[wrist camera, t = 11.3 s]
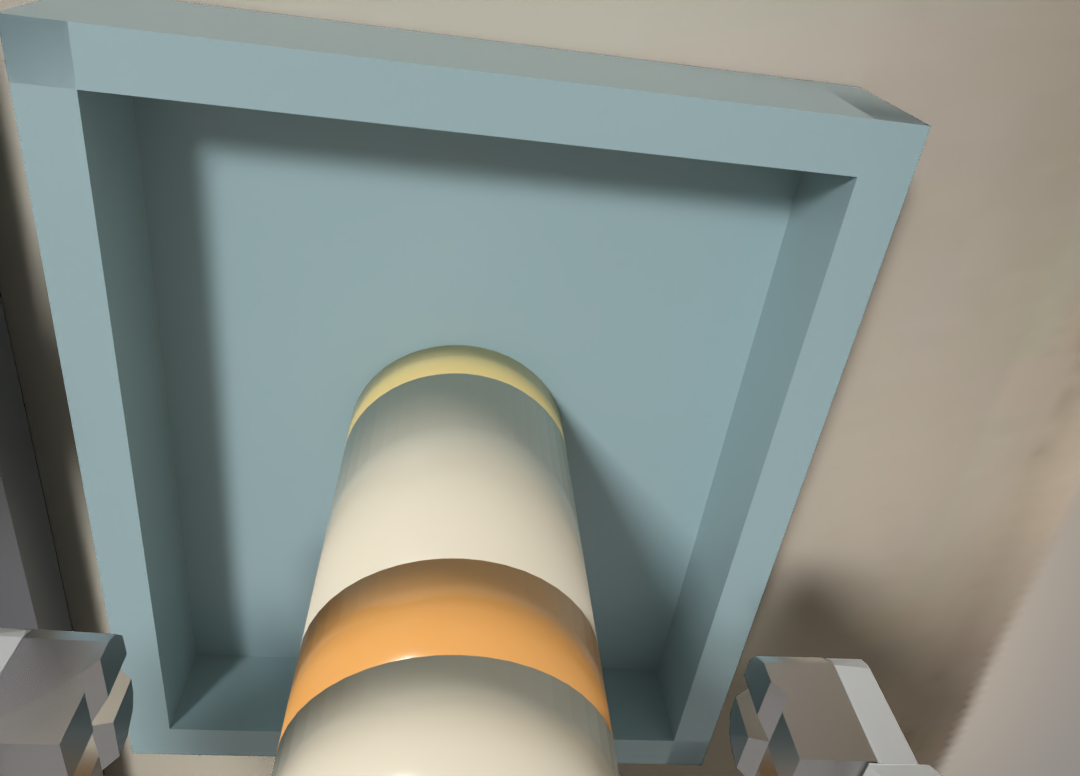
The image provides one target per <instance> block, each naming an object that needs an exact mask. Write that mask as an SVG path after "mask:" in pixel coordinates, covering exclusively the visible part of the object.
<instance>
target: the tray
mask: <svg viewBox="0 0 1080 776" xmlns="http://www.w3.org/2000/svg"><path fill="white" fill-rule="evenodd" d="M0 37H1V42H2V48H3V53H4V58H5V64H6V69H7V75H8V80H9V86H10V91H11V96H12V102H13V107H14V113H15V118H16V124H17V129H18V135H19V140H20V145H21V151H22V156H23V162H24V167H25V173H26V178H27V183H28V189H29V194H30V200H31V205H32V211H33V216H34V222H35V227H36V232H37V238H38V243H39V249H40V254H41V260H42V265H43V270H44V276H45V281H46V287H47V292H48V298H49V303H50V308H51V314H52V319H53V325H54V330H55V336H56V341H57V347H58V352H59V357H60V363H61V368H62V374H63V379H64V385H65V390H66V395H67V401H68V406H69V412H70V417H71V423H72V428H73V433H74V439H75V444H76V450H77V455H78V461H79V466H80V472H81V477H82V482H83V488H84V493H85V499H86V504H87V510H88V515H89V520H90V526H91V531H92V537H93V542H94V548H95V553H96V559H97V564H98V569H99V575H100V580H101V586H102V591H103V597H104V602H105V607H106V613H107V618H108V624H109V629H110V634H118V635H122V636H123V639H124V644H125V648H126V652H127V655H126V657H125V660H124V662H123V664H122V667H121V669H120V670H122V671H123V672H124V673H125V674H126V675H127V676H129V677H130V678H131V680H132V687H133V712H132V717H131V721H130V726H129V731H128V732H129V738H130V743H131V749H132V754H182V755H231V756H276V753H277V749H278V745H279V740H280V736H281V731H282V727H283V722H284V718H285V713H286V709H287V704H288V700H289V695H290V691H291V686H292V682H293V677H294V673H295V668H296V664H297V660H298V655H299V651H300V646H301V642H302V637H303V633H304V628H305V624H306V619H307V615H308V610H309V606H310V601H311V597H312V592H313V588H314V583H315V579H316V575H317V570H318V566H319V561H320V557H321V552H322V548H323V543H324V539H325V534H326V530H327V525H328V521H329V516H330V512H331V507H332V503H333V498H334V494H335V490H336V485H337V481H338V476H339V472H340V467H341V463H342V458H343V454H344V449H345V445H346V440H347V436H348V431H349V427H350V422H351V418H352V414H353V411H354V407H355V405H356V403H357V400H358V398H359V396H360V395H361V393H362V391H363V390H364V388H365V387H366V385H367V384H368V383H369V382H370V381H371V380H372V379H373V377H374V376H375V375H377V374H378V373H379V372H380V371H381V370H382V369H384V368H385V367H386V366H388V365H389V364H391V363H392V362H394V361H395V360H397V359H399V358H401V357H404V356H406V355H408V354H410V353H413V352H416V351H419V350H422V349H427V348H431V347H436V346H446V345H467V346H475V347H481V348H485V349H489V350H493V351H496V352H499V353H501V354H504V355H506V356H509V357H510V358H512V359H514V360H516V361H518V362H520V363H521V364H523V365H524V366H525V367H527V368H528V369H530V370H531V371H532V372H533V373H534V374H535V375H536V376H537V377H538V378H540V379H541V381H542V382H543V383H544V384H545V386H546V387H547V388H548V389H549V391H550V393H551V394H552V396H553V398H554V400H555V402H556V404H557V407H558V409H559V413H560V417H561V421H562V427H563V433H564V440H565V446H566V452H567V458H568V464H569V470H570V476H571V483H572V489H573V495H574V501H575V507H576V513H577V519H578V526H579V532H580V538H581V544H582V550H583V556H584V562H585V569H586V575H587V581H588V587H589V593H590V599H591V605H592V611H593V618H594V624H595V630H596V636H597V642H598V648H599V654H600V661H601V667H602V673H603V679H604V685H605V691H606V697H607V704H608V710H609V716H610V722H611V728H612V734H613V740H614V747H615V753H616V759H617V763H628V764H678V765H702V762H703V760H704V757H705V754H706V751H707V748H708V746H709V743H710V740H711V737H712V735H713V732H714V729H715V726H716V723H717V721H718V718H719V715H720V712H721V709H722V707H723V704H724V701H725V698H726V696H727V693H728V690H729V687H730V684H731V682H732V679H733V676H734V673H735V670H736V668H737V665H738V662H739V659H740V657H741V654H742V651H743V648H744V645H745V643H746V640H747V637H748V634H749V631H750V629H751V626H752V623H753V620H754V618H755V615H756V612H757V609H758V606H759V604H760V601H761V598H762V595H763V592H764V590H765V587H766V584H767V581H768V579H769V576H770V573H771V570H772V567H773V565H774V562H775V559H776V556H777V553H778V551H779V548H780V545H781V542H782V540H783V537H784V534H785V531H786V528H787V526H788V523H789V520H790V517H791V514H792V512H793V509H794V506H795V503H796V501H797V498H798V495H799V492H800V489H801V487H802V484H803V481H804V478H805V475H806V473H807V470H808V467H809V464H810V462H811V459H812V456H813V453H814V450H815V448H816V445H817V442H818V439H819V436H820V434H821V431H822V428H823V425H824V423H825V420H826V417H827V414H828V411H829V409H830V406H831V403H832V400H833V397H834V395H835V392H836V389H837V386H838V384H839V381H840V378H841V375H842V372H843V370H844V367H845V364H846V361H847V358H848V356H849V353H850V350H851V347H852V345H853V342H854V339H855V336H856V333H857V331H858V328H859V325H860V322H861V319H862V317H863V314H864V311H865V308H866V306H867V303H868V300H869V297H870V294H871V292H872V289H873V286H874V283H875V280H876V278H877V275H878V272H879V269H880V267H881V264H882V261H883V258H884V255H885V253H886V250H887V247H888V244H889V241H890V239H891V236H892V233H893V230H894V228H895V225H896V222H897V219H898V216H899V214H900V211H901V208H902V205H903V202H904V200H905V197H906V194H907V191H908V189H909V186H910V183H911V180H912V177H913V175H914V172H915V169H916V166H917V163H918V161H919V158H920V155H921V152H922V150H923V147H924V144H925V141H926V138H927V136H928V133H929V130H930V127H931V126H930V125H928V124H926V123H924V122H922V121H920V120H919V119H917V118H915V117H913V116H911V115H910V114H908V113H906V112H904V111H902V110H900V109H899V108H897V107H895V106H893V105H891V104H890V103H888V102H886V101H884V100H882V99H880V98H879V97H877V96H875V95H873V94H871V93H870V92H868V91H866V90H864V89H862V88H860V87H855V86H847V85H839V84H831V83H823V82H815V81H807V80H799V79H791V78H783V77H775V76H767V75H759V74H751V73H744V72H736V71H728V70H720V69H712V68H704V67H696V66H688V65H680V64H672V63H664V62H656V61H648V60H640V59H632V58H625V57H617V56H609V55H601V54H593V53H585V52H577V51H569V50H561V49H553V48H545V47H537V46H529V45H521V44H513V43H506V42H498V41H490V40H482V39H474V38H466V37H458V36H450V35H442V34H434V33H426V32H418V31H410V30H402V29H394V28H387V27H379V26H371V25H363V24H355V23H347V22H339V21H331V20H323V19H315V18H307V17H299V16H291V15H283V14H275V13H268V12H260V11H252V10H244V9H236V8H228V7H220V6H212V5H204V4H196V3H188V2H180V1H172V0H39V1H35V2H32V3H28V4H25V5H21V6H18V7H14V8H11V9H8V10H4V11H1V12H0Z"/></svg>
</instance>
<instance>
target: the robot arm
mask: <svg viewBox="0 0 1080 776" xmlns="http://www.w3.org/2000/svg"><path fill="white" fill-rule="evenodd" d="M126 655H127V652H126V648H125V644H124V639H123V636H122V635H118V634H108V633H91V632H75V631H59V630H42V629H17V628H0V776H103V773H102V770H103V769H104V768H106V767H107V766H108V765H109V764H111V763H112V762H113V761H114V760H115V759H117V758H118V757H119V756H120V754H121V751H122V748H123V746H124V743H125V740H126V738H127V735H128V731H129V726H130V721H131V717H132V712H133V687H132V680H131V678H130V677H129V676H127V675H126V674H125V673H124V672H123V671H122V670H120V669H121V667H122V664H123V662H124V660H125V657H126ZM744 676H745V679H746V682H747V685H748V688H747V689H746V690H744V691H743V692H742V693H740V694H739V695H737V696H736V697H735V701H734V704H733V707H732V710H731V713H730V733H729V734H730V741H731V748H732V753H733V757H734V760H735V764H736V767H737V769H738V770H739V771H740V772H741V773H742V774H743V775H744V776H942V775H941V774H940V773H939V772H937V771H936V770H935V769H934V768H933V767H931V766H930V765H925V764H918V762H917V760H916V758H915V756H914V754H913V752H912V750H911V748H910V746H909V744H908V742H907V740H906V738H905V736H904V734H903V732H902V731H901V729H900V727H899V725H898V723H897V721H896V719H895V717H894V715H893V713H892V711H891V709H890V707H889V705H888V703H887V701H886V699H885V697H884V695H883V693H882V691H881V689H880V687H879V685H878V683H877V681H876V679H875V678H874V676H873V674H872V672H871V670H870V668H869V666H868V665H867V664H866V663H865V662H864V661H863V660H862V659H839V658H825V659H823V658H821V657H781V656H755V657H754V658H752V659H751V660H750V661H749V663H748V665H747V668H746V671H745V673H744Z"/></svg>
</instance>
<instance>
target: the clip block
mask: <svg viewBox="0 0 1080 776" xmlns="http://www.w3.org/2000/svg"><path fill="white" fill-rule="evenodd" d="M0 628H17V629H42V630H59V631H72V626H71V621H70V617H69V612H68V607H67V603H66V598H65V593H64V589H63V584H62V580H61V575H60V570H59V566H58V561H57V556H56V552H55V547H54V542H53V538H52V533H51V529H50V524H49V519H48V515H47V510H46V505H45V501H44V496H43V491H42V487H41V482H40V477H39V473H38V468H37V464H36V459H35V454H34V450H33V445H32V440H31V436H30V431H29V426H28V422H27V417H26V413H25V408H24V403H23V399H22V394H21V389H20V385H19V380H18V375H17V371H16V366H15V362H14V357H13V352H12V348H11V343H10V338H9V334H8V329H7V324H6V320H5V315H4V310H3V306H2V301H1V297H0ZM102 773H103V770H102ZM103 776H104V774H103Z"/></svg>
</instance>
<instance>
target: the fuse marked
mask: <svg viewBox="0 0 1080 776" xmlns="http://www.w3.org/2000/svg"><path fill="white" fill-rule="evenodd" d="M272 776H619V771H618V765H617V759H616V753H615V747H614V740H613V734H612V728H611V722H610V716H609V710H608V704H607V697H606V691H605V685H604V679H603V673H602V667H601V661H600V654H599V648H598V642H597V636H596V630H595V624H594V618H593V611H592V605H591V599H590V593H589V587H588V581H587V575H586V569H585V562H584V556H583V550H582V544H581V538H580V532H579V526H578V519H577V513H576V507H575V501H574V495H573V489H572V483H571V476H570V470H569V464H568V458H567V452H566V446H565V440H564V433H563V427H562V421H561V417H560V413H559V409H558V407H557V404H556V402H555V400H554V398H553V396H552V394H551V393H550V391H549V389H548V388H547V387H546V386H545V384H544V383H543V382H542V381H541V379H540V378H538V377H537V376H536V375H535V374H534V373H533V372H532V371H531V370H530V369H528V368H527V367H525V366H524V365H523V364H521V363H520V362H518V361H516V360H514V359H512V358H510V357H509V356H506V355H504V354H501V353H499V352H496V351H493V350H489V349H485V348H481V347H475V346H467V345H446V346H436V347H431V348H427V349H422V350H419V351H416V352H413V353H410V354H408V355H406V356H404V357H401V358H399V359H397V360H395V361H394V362H392V363H391V364H389V365H388V366H386V367H385V368H384V369H382V370H381V371H380V372H379V373H378V374H377V375H375V376H374V377H373V379H372V380H371V381H370V382H369V383H368V384H367V385H366V387H365V388H364V390H363V391H362V393H361V395H360V396H359V398H358V400H357V403H356V405H355V407H354V411H353V414H352V418H351V422H350V427H349V431H348V436H347V440H346V445H345V449H344V454H343V458H342V463H341V467H340V472H339V476H338V481H337V485H336V490H335V494H334V498H333V503H332V507H331V512H330V516H329V521H328V525H327V530H326V534H325V539H324V543H323V548H322V552H321V557H320V561H319V566H318V570H317V575H316V579H315V583H314V588H313V592H312V597H311V601H310V606H309V610H308V615H307V619H306V624H305V628H304V633H303V637H302V642H301V646H300V651H299V655H298V660H297V664H296V668H295V673H294V677H293V682H292V686H291V691H290V695H289V700H288V704H287V709H286V713H285V718H284V722H283V727H282V731H281V736H280V740H279V745H278V749H277V753H276V758H275V762H274V767H273V771H272Z"/></svg>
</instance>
